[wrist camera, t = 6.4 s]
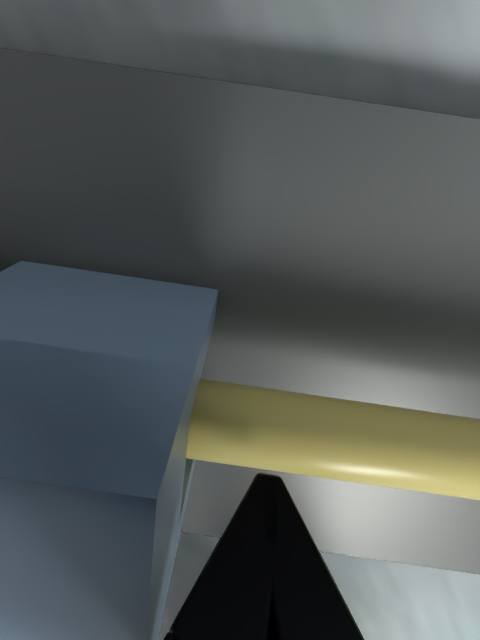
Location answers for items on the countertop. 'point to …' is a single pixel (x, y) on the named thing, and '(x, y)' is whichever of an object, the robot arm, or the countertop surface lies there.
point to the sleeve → (94, 447)
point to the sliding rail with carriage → (280, 282)
